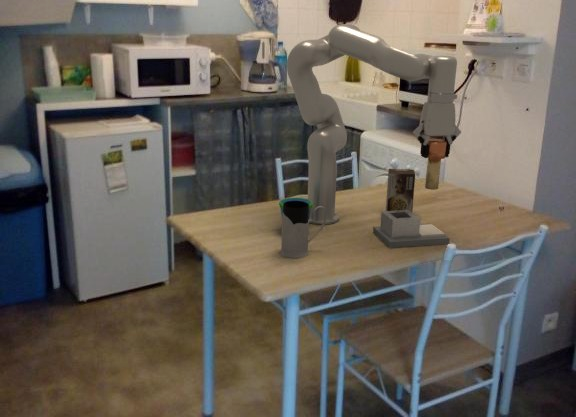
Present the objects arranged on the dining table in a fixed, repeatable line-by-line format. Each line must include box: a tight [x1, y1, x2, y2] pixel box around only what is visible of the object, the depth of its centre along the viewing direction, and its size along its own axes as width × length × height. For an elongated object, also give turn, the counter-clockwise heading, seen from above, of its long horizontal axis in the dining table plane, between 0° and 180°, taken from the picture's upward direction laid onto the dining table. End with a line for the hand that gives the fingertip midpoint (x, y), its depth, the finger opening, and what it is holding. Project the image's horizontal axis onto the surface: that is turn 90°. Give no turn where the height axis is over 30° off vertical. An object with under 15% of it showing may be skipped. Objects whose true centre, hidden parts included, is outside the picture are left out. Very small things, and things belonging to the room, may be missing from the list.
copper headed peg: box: [424, 138, 447, 191], centre depth 193 cm, size 6×6×15 cm
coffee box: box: [385, 168, 416, 213], centre depth 219 cm, size 9×6×16 cm
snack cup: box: [278, 197, 313, 220], centre depth 200 cm, size 16×10×10 cm
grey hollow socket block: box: [379, 210, 421, 239], centre depth 196 cm, size 9×9×6 cm
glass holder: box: [279, 201, 327, 259], centre depth 183 cm, size 9×14×15 cm, turn 111°
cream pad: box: [419, 223, 446, 237], centre depth 199 cm, size 8×9×1 cm
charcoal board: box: [372, 223, 451, 249], centre depth 198 cm, size 20×14×2 cm
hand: (434, 156), depth 192 cm, fingers closed on copper headed peg, 6 cm apart
